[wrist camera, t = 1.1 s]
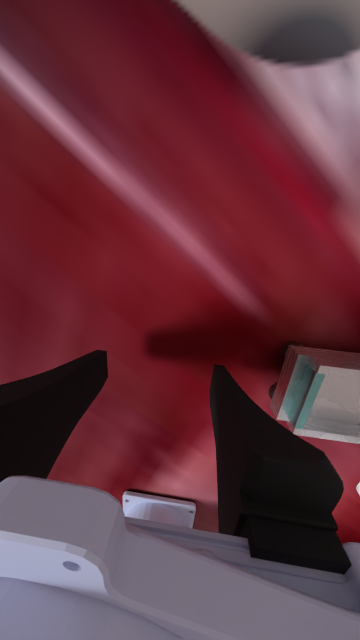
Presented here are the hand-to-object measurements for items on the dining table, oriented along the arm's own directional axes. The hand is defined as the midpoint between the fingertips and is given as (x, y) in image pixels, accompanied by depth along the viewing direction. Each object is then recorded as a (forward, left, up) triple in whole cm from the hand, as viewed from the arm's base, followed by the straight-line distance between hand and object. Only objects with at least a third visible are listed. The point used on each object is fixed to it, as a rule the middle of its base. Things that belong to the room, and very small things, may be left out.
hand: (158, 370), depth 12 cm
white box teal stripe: (0, -12, -2) cm, 12 cm away
